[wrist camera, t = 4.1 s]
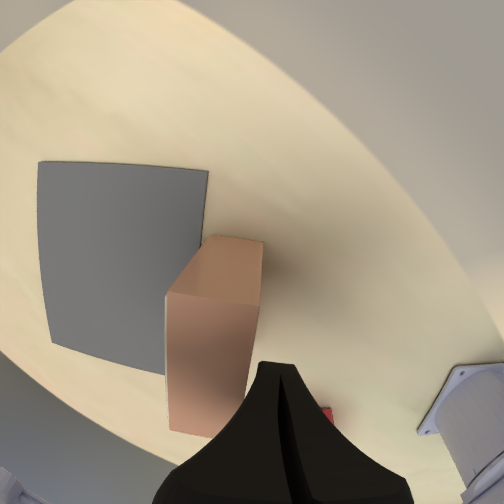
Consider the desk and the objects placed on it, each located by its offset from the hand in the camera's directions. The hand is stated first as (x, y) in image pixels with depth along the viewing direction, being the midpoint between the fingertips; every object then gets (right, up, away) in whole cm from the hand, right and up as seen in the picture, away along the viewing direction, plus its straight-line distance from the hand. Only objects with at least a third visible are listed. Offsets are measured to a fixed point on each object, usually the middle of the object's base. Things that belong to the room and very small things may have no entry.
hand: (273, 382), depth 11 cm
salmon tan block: (-2, +2, +7) cm, 8 cm away
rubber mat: (-10, +4, +7) cm, 13 cm away
